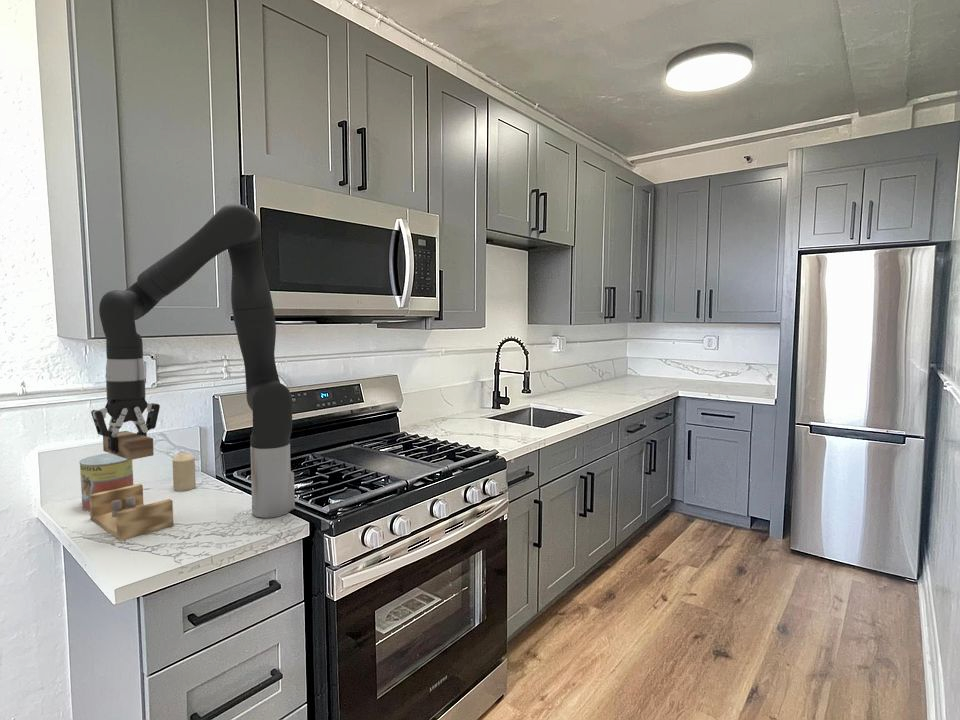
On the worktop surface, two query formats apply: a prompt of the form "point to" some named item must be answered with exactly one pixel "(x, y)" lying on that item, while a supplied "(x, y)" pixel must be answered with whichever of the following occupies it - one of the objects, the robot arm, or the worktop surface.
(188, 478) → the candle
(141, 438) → the brown wooden block
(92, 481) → the canned food
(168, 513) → the peg frame
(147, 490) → the worktop surface
